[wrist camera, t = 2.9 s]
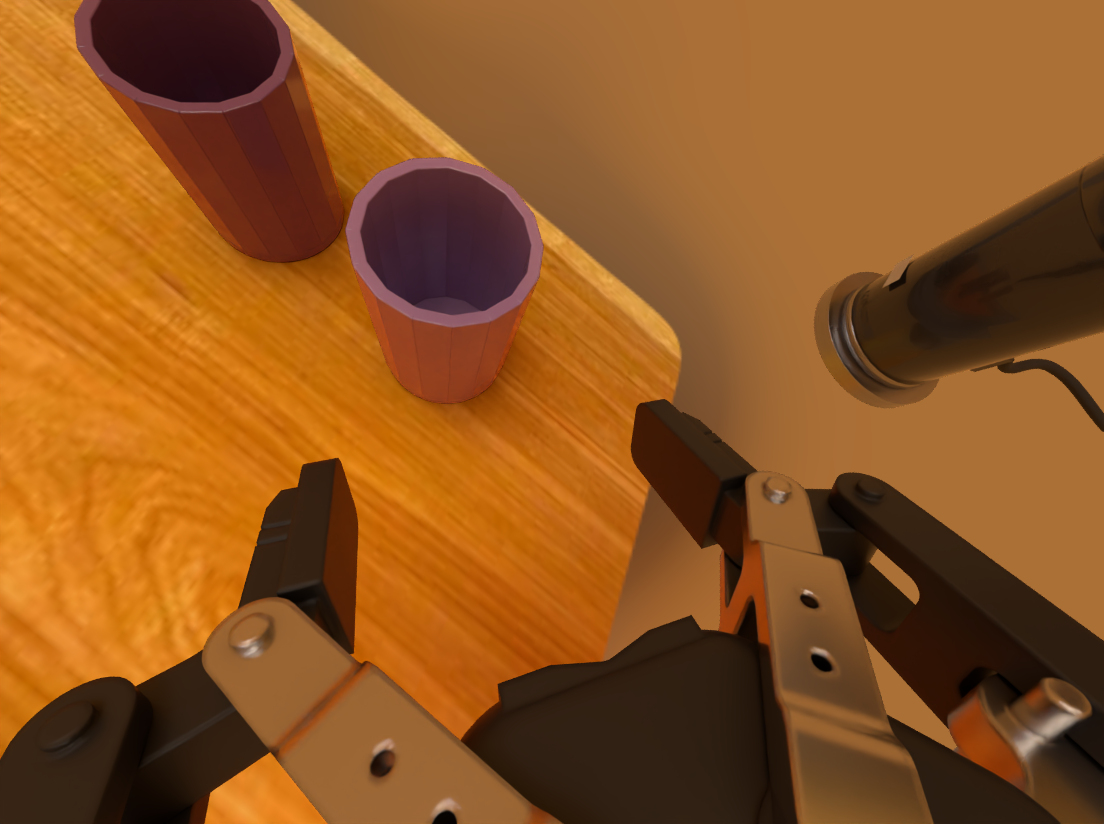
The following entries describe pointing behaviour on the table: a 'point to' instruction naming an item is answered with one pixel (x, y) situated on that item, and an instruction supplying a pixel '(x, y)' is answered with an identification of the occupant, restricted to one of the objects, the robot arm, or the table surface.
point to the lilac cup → (444, 272)
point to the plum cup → (222, 114)
